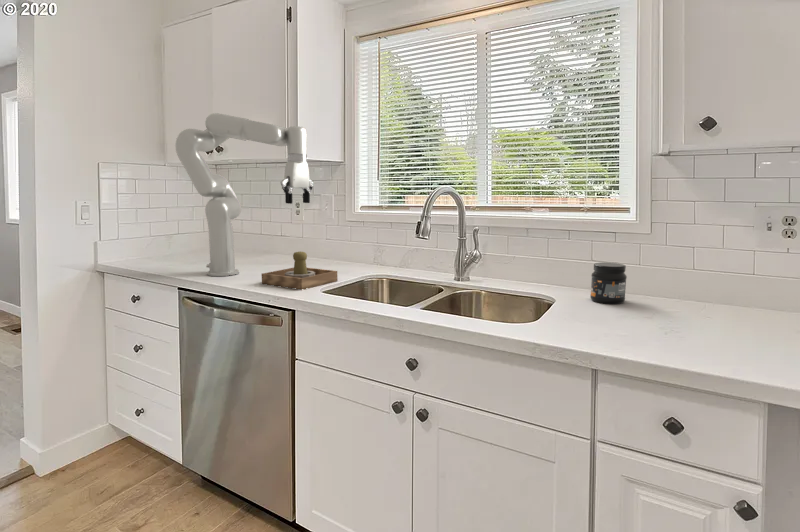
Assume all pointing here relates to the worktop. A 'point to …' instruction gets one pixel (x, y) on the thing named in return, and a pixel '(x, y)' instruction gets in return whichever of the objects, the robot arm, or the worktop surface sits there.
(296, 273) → the cork
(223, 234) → the robot arm
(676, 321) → the worktop surface
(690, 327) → the worktop surface
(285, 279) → the box
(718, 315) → the worktop surface
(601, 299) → the supplement container
